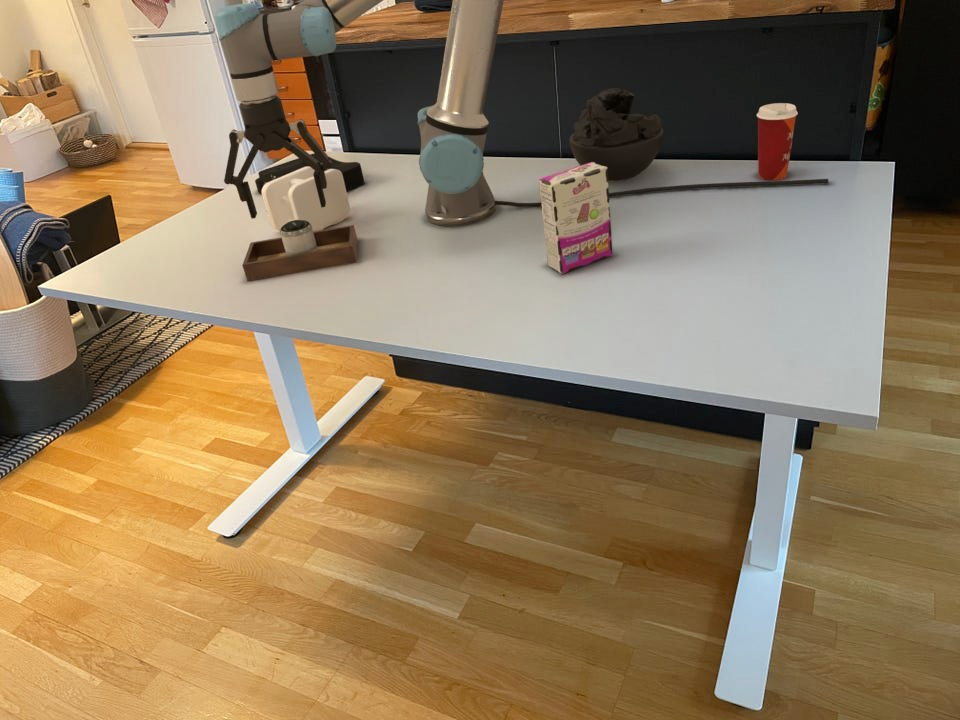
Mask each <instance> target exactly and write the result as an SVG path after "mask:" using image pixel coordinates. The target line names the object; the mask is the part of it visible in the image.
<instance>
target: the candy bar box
mask: <svg viewBox="0 0 960 720" xmlns="http://www.w3.org/2000/svg"><path fill="white" fill-rule="evenodd" d="M538 187H539V195H540V196H539V197H540V202H541V206H540V207H541V214H542V215H541V216H542V223H543V233H544V241H545V248H546V257H547V258H546V259H547V264H548V267H550V268H551V269H552V270H554V271H556V272H557V273H559V274H561V275H564V274H567V273H569V272H572V271H574V270H577V269H580V268H583V267H585V266H588V265H591V264H594V263H596V262H598V261H601V260H604V259H608V258H609V257H612V256H613V239H612V237H613V235H612V223H611V209H610V208H611V205H610V197H609V193H610V189H609V181H608V171H607V167H605V166H602V165H600V164H596V163H595V162H590V163H587V164H584V165H581V166H580V165H578V166H575V167H571V168H569V169H565V170H562V171H559V172H557V173H554V174H551V175H547V176H544V177H541V178H538Z"/></svg>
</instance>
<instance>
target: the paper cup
mask: <svg viewBox="0 0 960 720" xmlns="http://www.w3.org/2000/svg"><path fill="white" fill-rule="evenodd" d="M798 114H799V112H798V111H797V106H796V105H795V104H792V103H787V102H785V103H784V102H777V103H776V102H775V103H769V104H765V105H762V106H760V107H759V109H758V112H757V113H756V117H757V132H758V133H757V136H758V137H757V174H758V175H757V176H758V178H759V179H760V180H764V181H781V180H784V179H785V178H786V177H787V175H788V170H789V165H790V158H791V152H792V145H793V138H794V131H795V124H796V118H797V116H798Z"/></svg>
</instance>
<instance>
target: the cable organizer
mask: <svg viewBox="0 0 960 720" xmlns="http://www.w3.org/2000/svg"><path fill="white" fill-rule="evenodd" d="M314 171H315V170H314V169H312V168H311V167H303V168H301V169H299V170H296V171H294V172H291V173H289V174H287V175H284V176H282V177H280V178H277V179H275V180H272V181H270V182H268V183H266V184H265V185H264V186H263V188H262V194H261V196H262V199H263V203H264V206H265V209H266V214H267V216H268V219H269V222H270V227H271V228H272V229H273V230H274V231H277V232H280V229H281V227H282V226H283V225H285V224H286V223H288V222H290V221H294V220H305V221H308V222H309V223H310V224H311V226H312V230H313V232H315V231H320V230H325V228H327V227H329V226H335V225H337V224H339V223H341V222H343V221H344V220H345V218H347V217H348V216H349V214H350V212H351V205H350V200H349V195H348V191H346V188H345V183H344V179H343V175H342V173H341V171H339V170H336V169H329V170H327V171H324V172H325V177H326V181H327V187H326V188H325V189H323V192H324V196H325V200H326V205H325V207H322V208H321V204H320V200H319V196H318V192H317V188H316V184H315V180H314V175H313V174H314Z"/></svg>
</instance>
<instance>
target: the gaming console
mask: <svg viewBox="0 0 960 720" xmlns="http://www.w3.org/2000/svg"><path fill="white" fill-rule="evenodd" d="M309 154H310V155H311V156H312V157H314V158H315V159H316V160H317V161H319V162H320V163H322V162H321V161H320V160H319V158H318V157H317V156H316V155H315V153H314V152H313V153H309ZM328 157H329V158H330V159H331V161H332V164H331V167H330V168H328V169H326V170H325V171H327V170H329V169H336V170H339V171H341V173H342V175H343V179H344V183H345V188H346V192H348V191H350V190H352V189H355V188H357V187H359V186H362V185H364V184H365V178H364V173H363V169H362V165H361V163H360V162H357V161H349V162H347V161H341V160H338V159H335V158H332V157H331V156H329V155H328ZM303 167H310V166H308V165H307V164H306V163H305V162H303V161H302V160H301V159H299V158H298V157H297V158H295V159H291V160H289V161H286V162H283V163H280V164H277V165H274V166H270V167H268V168H264V169H262V170H260V171H258V177H257V178H256V179H255V180H254V183H255V186H256V190H257V193H258V194H259V195H260V194H261V195H262V188H263V186H264V185H265V184H266V183H268V182H270V181H272V180H275V179H277V178H280V177H282V176H284V175H287V174H289V173H291V172H294V171H296V170H299V169H301V168H303Z"/></svg>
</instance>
